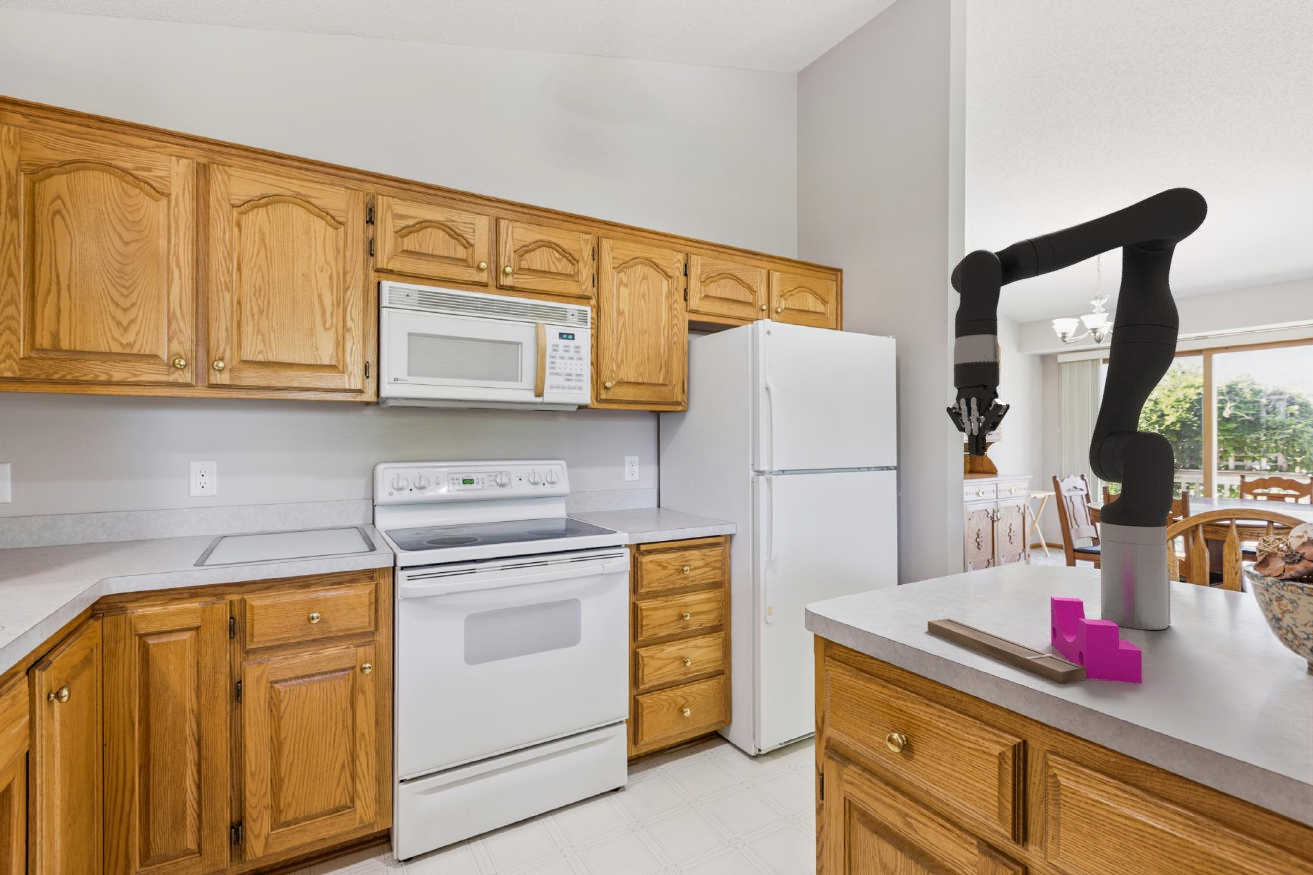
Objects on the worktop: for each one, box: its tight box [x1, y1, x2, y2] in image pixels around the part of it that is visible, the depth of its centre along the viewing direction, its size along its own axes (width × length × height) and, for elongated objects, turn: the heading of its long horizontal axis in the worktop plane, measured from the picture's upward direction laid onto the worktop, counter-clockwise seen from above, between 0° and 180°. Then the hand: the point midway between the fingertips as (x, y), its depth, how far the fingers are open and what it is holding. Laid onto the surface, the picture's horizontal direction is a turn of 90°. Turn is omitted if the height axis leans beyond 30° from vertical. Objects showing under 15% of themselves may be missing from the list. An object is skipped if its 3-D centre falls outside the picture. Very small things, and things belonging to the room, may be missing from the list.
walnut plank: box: [927, 618, 1087, 685], centre depth 94 cm, size 4×24×2 cm, turn 18°
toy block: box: [1050, 596, 1143, 684], centre depth 90 cm, size 15×6×8 cm, turn 163°
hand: (976, 455), depth 115 cm, fingers closed
